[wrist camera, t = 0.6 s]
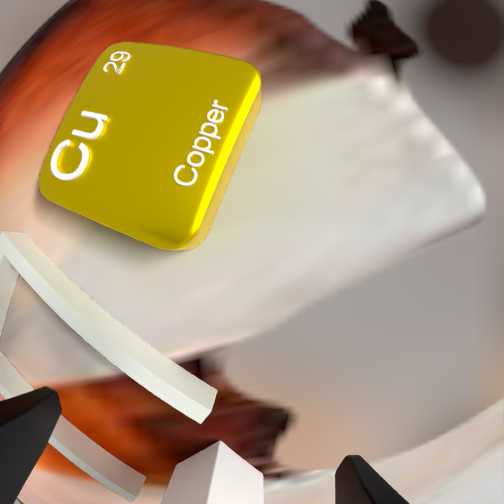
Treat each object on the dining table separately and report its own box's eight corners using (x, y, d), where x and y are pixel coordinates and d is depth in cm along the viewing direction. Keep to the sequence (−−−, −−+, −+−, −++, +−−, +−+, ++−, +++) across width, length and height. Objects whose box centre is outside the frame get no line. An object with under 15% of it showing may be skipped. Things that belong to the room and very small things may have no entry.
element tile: (199, 259, 23) (184, 261, 18) (58, 200, 23) (26, 191, 18) (268, 93, 23) (270, 61, 18) (125, 62, 23) (106, 36, 18)
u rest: (141, 482, 22) (131, 502, 19) (-11, 347, 23) (-30, 354, 19) (217, 390, 22) (211, 411, 19) (24, 232, 23) (1, 230, 19)
